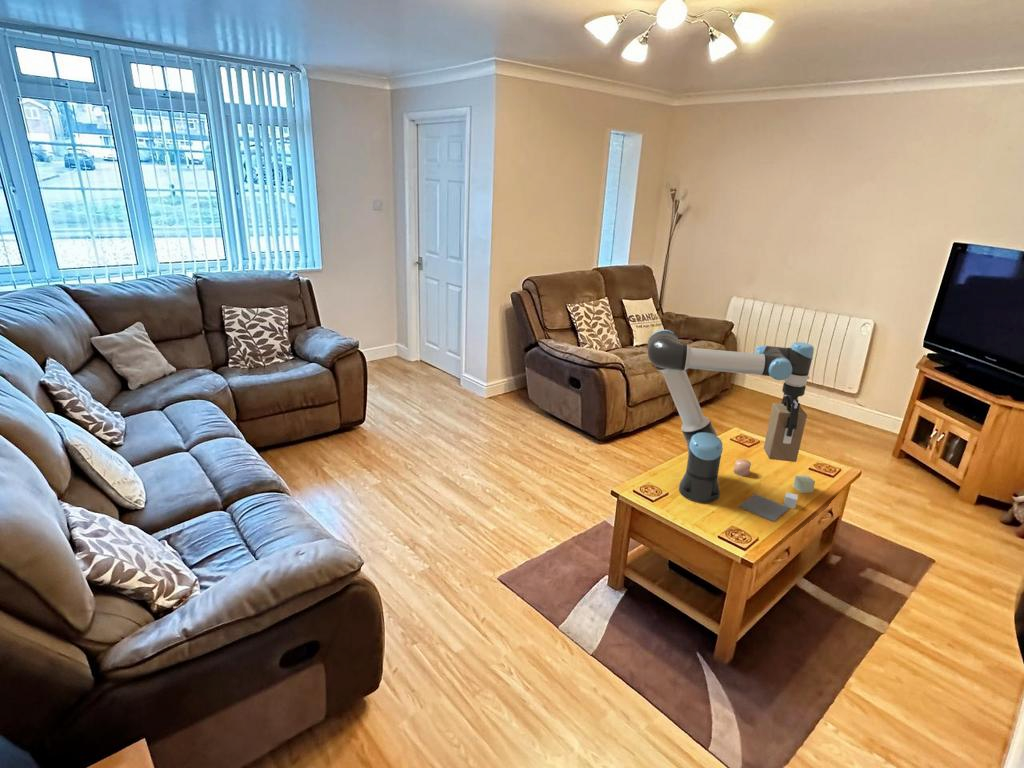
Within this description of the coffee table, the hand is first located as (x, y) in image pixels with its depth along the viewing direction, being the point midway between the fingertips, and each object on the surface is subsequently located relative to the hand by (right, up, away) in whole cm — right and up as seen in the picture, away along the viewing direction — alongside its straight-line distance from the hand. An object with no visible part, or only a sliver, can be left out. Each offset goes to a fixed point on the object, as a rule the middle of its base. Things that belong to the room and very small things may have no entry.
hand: (783, 437), depth 211 cm
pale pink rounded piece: (-9, -17, +18) cm, 26 cm away
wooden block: (0, -7, +3) cm, 8 cm away
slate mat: (-11, -26, -8) cm, 29 cm away
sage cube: (+11, -21, +6) cm, 25 cm away
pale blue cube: (0, -25, -5) cm, 26 cm away
